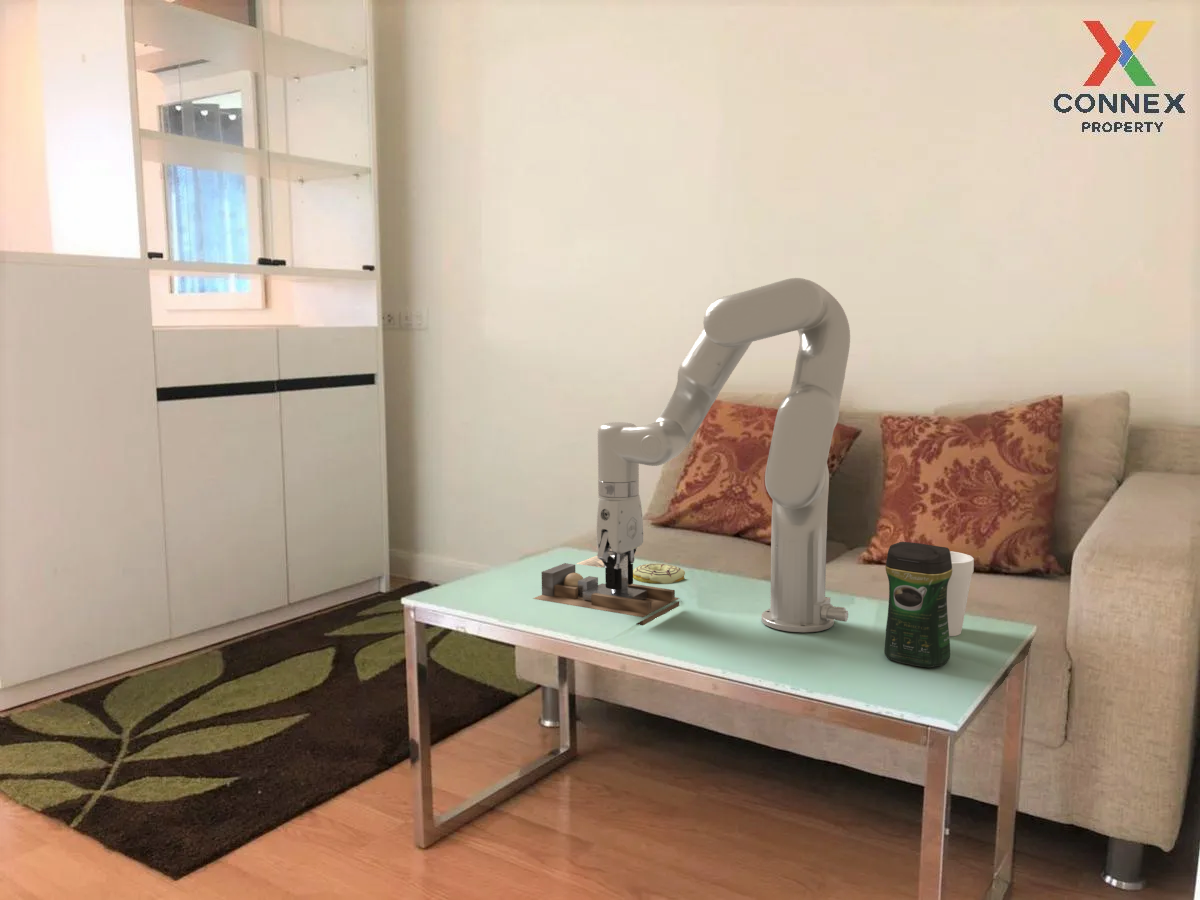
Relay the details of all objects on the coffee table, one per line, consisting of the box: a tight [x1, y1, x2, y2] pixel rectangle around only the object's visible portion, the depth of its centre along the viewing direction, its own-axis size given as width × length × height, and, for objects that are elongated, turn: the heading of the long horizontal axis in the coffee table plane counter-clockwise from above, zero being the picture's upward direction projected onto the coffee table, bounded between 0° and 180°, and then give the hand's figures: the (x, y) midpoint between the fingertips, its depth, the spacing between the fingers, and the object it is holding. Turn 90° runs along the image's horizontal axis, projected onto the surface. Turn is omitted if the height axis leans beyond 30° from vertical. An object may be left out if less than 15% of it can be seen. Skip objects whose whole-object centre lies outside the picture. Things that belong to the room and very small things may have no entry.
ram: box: [578, 553, 647, 601], centre depth 184 cm, size 12×7×8 cm, turn 58°
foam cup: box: [947, 550, 975, 637], centre depth 167 cm, size 10×9×13 cm
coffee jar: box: [883, 541, 952, 668], centre depth 153 cm, size 10×8×19 cm
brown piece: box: [532, 562, 680, 626], centre depth 185 cm, size 24×14×6 cm, turn 58°
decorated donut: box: [633, 562, 686, 585], centre depth 200 cm, size 10×11×4 cm
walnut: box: [564, 572, 584, 588], centre depth 189 cm, size 4×4×4 cm
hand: (619, 585), depth 183 cm, fingers open, 3 cm apart
